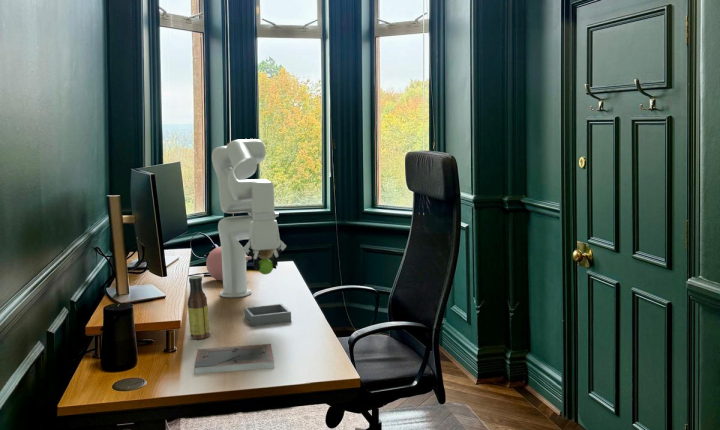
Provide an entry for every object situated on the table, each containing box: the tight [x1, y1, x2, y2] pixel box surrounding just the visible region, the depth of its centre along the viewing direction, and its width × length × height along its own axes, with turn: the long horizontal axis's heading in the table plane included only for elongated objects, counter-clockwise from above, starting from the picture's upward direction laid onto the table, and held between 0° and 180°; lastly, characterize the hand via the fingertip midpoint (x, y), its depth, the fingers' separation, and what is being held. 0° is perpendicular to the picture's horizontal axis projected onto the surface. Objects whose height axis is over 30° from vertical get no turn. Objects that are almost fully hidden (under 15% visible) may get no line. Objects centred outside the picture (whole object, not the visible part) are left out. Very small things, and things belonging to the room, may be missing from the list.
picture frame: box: [194, 343, 275, 375], centre depth 199 cm, size 16×2×22 cm
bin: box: [243, 303, 292, 327], centre depth 242 cm, size 13×14×4 cm
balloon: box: [205, 246, 253, 282], centre depth 307 cm, size 15×20×15 cm
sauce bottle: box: [187, 275, 211, 340], centre depth 222 cm, size 6×6×20 cm
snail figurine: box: [257, 249, 274, 275], centre depth 240 cm, size 5×6×12 cm
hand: (265, 268), depth 240 cm, fingers closed on snail figurine, 5 cm apart
